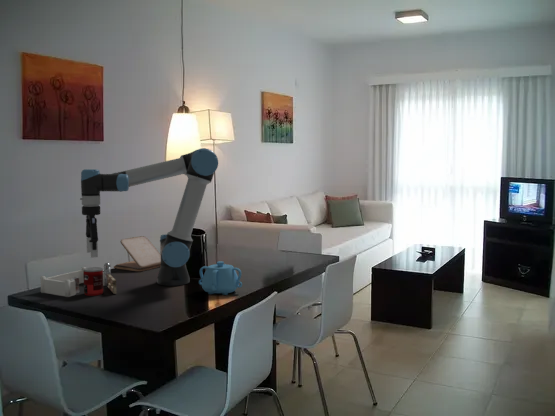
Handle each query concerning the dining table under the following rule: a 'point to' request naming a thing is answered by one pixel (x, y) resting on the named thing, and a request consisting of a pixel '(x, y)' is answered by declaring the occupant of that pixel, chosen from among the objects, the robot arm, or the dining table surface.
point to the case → (140, 254)
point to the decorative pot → (220, 278)
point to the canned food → (93, 281)
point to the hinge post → (106, 272)
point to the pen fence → (62, 283)
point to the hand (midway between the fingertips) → (92, 254)
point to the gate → (111, 283)
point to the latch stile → (76, 283)
